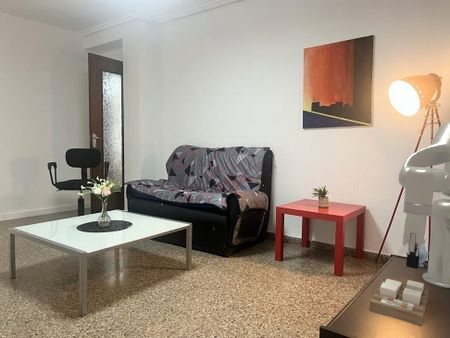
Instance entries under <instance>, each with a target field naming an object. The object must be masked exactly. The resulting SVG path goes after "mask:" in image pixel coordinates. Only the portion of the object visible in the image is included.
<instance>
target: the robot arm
mask: <svg viewBox="0 0 450 338" xmlns="http://www.w3.org/2000/svg"><path fill="white" fill-rule="evenodd" d="M442 164H444V167H443V168H435V167H433V166H438V165H442ZM398 183H399V185H400V186H401V187H402V188H404V198H403V199H404V202H403V209H402V210H403V211H402V212H403V213H405V214H406V215H405V220H404V228H403V236H402V246H406V245H407V251H408V254H407V255H406V264H405V266H406V268H412V269H415V270H417V269H418V268H419V267H420V266H419V256H420V255H419V250H420V247H421V246H422V244H423V240H424V239H425V236H426V235H425V233H426V228H427V227H426V226H427V217H429V216H430V221H431V222H430V223H431V225H430V227H431V229H430V230H431V231H430V232H431V233H430V241H429V251H428V253H429V254H428V263H427V264H428V265H427V272H424V273H422V279H423V280H424V281H425V282H426V283H429V284H431V285H433V286H437V287H439V288H445V289H446V288H447V289H450V199H448V198H449V197H450V120H448V121H445V122H442V124H440V125H439V127H438V130H437V131H436V133H435V135H434V136H433V139H432V140H431V142H430V144H429V146H428V145H427V146H426V147H424V148H423V147H422V149H419V150H417V151H415V152H414V153H412V154H411V155H410V156H408V157H407V158H406V160H405V161H404V163H403V165H402V167H401V168H400V171H399V174H398ZM434 193H441V194H442V195H443V196H445V197H448V198H439V199H436V200H434ZM433 200H434V201H433Z"/></svg>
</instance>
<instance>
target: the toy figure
mask: <svg viewBox="0 0 450 338" xmlns="http://www.w3.org/2000/svg"><path fill="white" fill-rule="evenodd" d="M425 244H426V239H425V238H424V240H423V244H422V246H421V247H420V250H419V255H420V256H419V267H420V268H424V264H423V263H425V262H426V261H427V260H428V258H429V251H428V250H427V248H426V245H425ZM407 254H408V250H406V251H405V255H406V256H407Z"/></svg>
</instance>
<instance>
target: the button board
mask: <svg viewBox="0 0 450 338" xmlns="http://www.w3.org/2000/svg"><path fill="white" fill-rule="evenodd" d="M387 279H388V278H383V280H382V281H381V282H380V284H379V286H378V287H377V289H376V291H375V293H374V294H373V296H372V297H371V299H370V300H369V311H370V312H374V313H377V314H381V315H383V316H387V317H391V318H394V319H397V320H400V321H404V322H407V323H411V324H413V325H418V326H421V327H422V326H423V321H424V318H425V313H426V308H427V305H428V301H429V293H430V292H429V291H430V290H429V289H427V288H424V287H423V294H422V296H421V301H420V305H419V306H418V305H414V304H411V303H407V302H403V301H402V298H403V291H404V289H405V288H406V284H407V283H403V282H402V284H401V290H400V291H399V290H398V295H397V297H396V299H392V298H389V297H385V296H381V295H380V286H381V285H382V283H383V282H384V283H385V281H386V280H387Z"/></svg>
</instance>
